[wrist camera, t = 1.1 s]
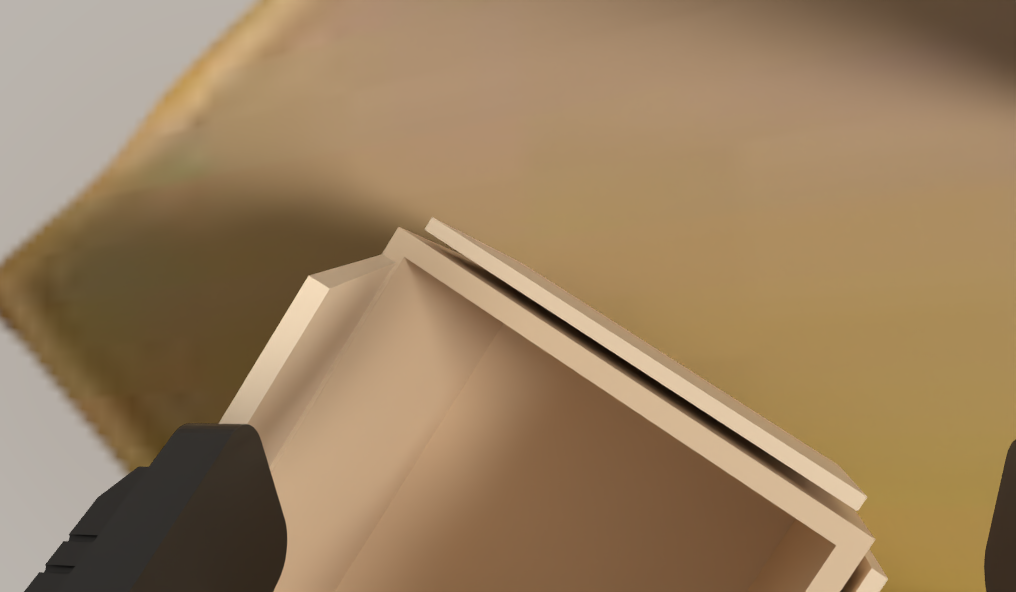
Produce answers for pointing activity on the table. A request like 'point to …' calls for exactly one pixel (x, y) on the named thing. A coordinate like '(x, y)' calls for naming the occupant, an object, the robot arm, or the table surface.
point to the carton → (544, 454)
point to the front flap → (305, 349)
